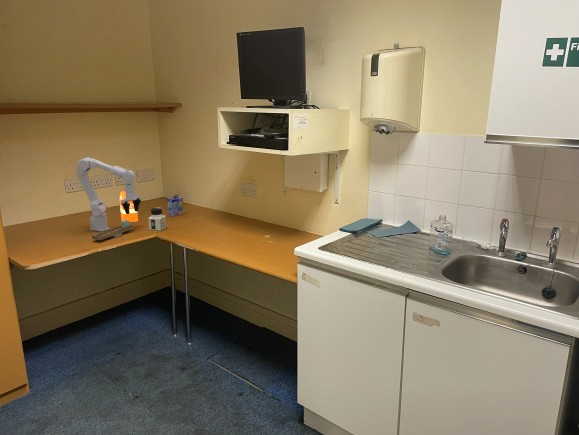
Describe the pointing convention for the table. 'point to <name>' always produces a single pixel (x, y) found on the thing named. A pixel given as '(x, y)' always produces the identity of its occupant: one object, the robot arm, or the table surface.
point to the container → (157, 220)
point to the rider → (124, 223)
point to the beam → (112, 233)
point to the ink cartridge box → (175, 206)
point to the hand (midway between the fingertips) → (132, 212)
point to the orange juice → (133, 214)
